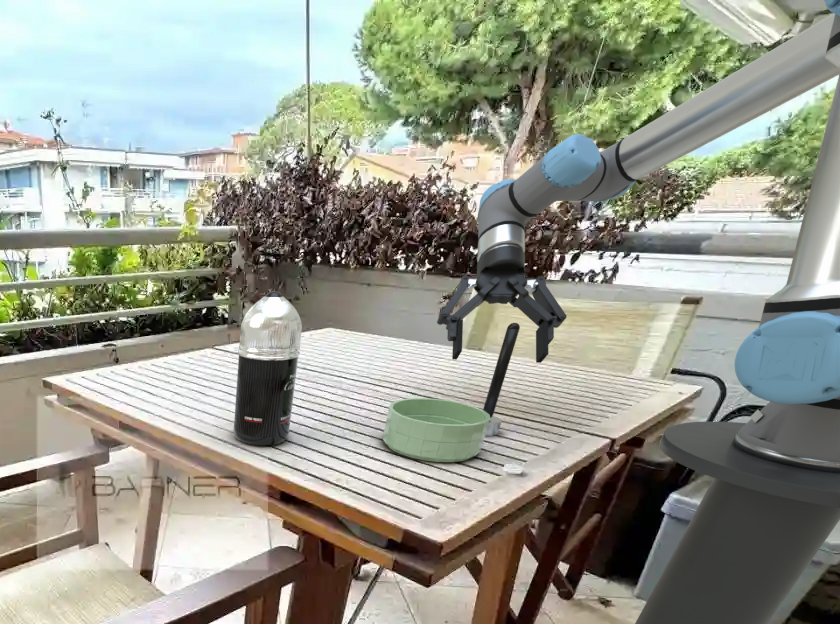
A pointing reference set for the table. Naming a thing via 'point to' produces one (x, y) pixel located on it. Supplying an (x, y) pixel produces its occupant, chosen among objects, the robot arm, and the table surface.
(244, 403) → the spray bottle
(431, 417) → the bowl
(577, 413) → the table surface
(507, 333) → the grey disc on rod
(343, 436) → the table surface
